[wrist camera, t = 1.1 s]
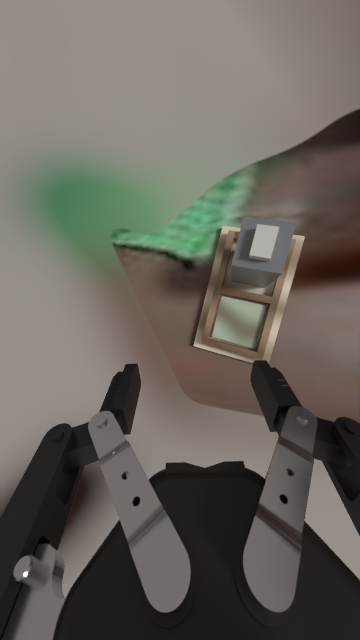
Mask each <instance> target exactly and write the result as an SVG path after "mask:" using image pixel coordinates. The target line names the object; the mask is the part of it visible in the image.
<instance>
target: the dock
mask: <svg viewBox="0 0 360 640" xmlns="http://www.w3.org/2000/svg"><path fill="white" fill-rule="evenodd" d="M240 229H241V228H235V227H227V226H223V227H222V231H221V235H220V239H219V243H218V247H217V251H216V255H215V259H214V263H213V268H212V272H211V276H210V280H209V284H208V288H207V292H206V296H205V300H204V304H203V309H202V313H201V317H200V321H199V325H198V329H197V333H196V337H195V341H194V346H195V347H198V348H202V349H205V350H209V351H212V352H216V353H219V354H223V355H226V356H230V357H233V358H237V359H240V360H244V361H247V362H250V363H253V362H254V360H266V361H267V362H268V364H269V361H270V358H271V354H272V351H273V347H274V344H275V340H276V337H277V333H278V330H279V326H280V323H281V319H282V316H283V312H284V309H285V305H286V302H287V298H288V294H289V291H290V287H291V284H292V280H293V277H294V273H295V270H296V266H297V263H298V259H299V256H300V252H301V249H302V245H303V242H304V238H305V236H297V235H293V237H292V240H291V244H290V247H289V251H288V255H287V258H286V262H285V265H284V269H283V273H282V274H281V275H280V276H279V277H278V278H276V279H275V280H274V281H273V282H271V283H270V284H269V285H267V286H266V287H265V288H263V287H258V286H253V285H248V284H242V283H237V282H232V272H231V265H232V261H233V257H234V253H235V249H236V245H237V241H238V237H239V233H240Z"/></svg>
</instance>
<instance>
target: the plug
mask: <svg viewBox="0 0 360 640" xmlns="http://www.w3.org/2000/svg"><path fill="white" fill-rule="evenodd" d="M295 226H296V223H295V222H286V221H278V220H269V219H260V218H252V217H243V221H242V225H241V229H240V233H239V237H238V241H237V245H236V249H235V253H234V257H233V261H232V265H231V272H232V282H237V283H242V284H248V285H253V286H258V287H263V288H265V287H266V286H267V285H269V284H270V283H271V282H273V281H274V280H275V279H276V278H278V277H279V276H280V275H281V274H282V273H283V269H284V265H285V262H286V258H287V255H288V251H289V247H290V244H291V240H292V237H293V233H294V229H295Z"/></svg>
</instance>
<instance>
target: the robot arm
mask: <svg viewBox="0 0 360 640" xmlns="http://www.w3.org/2000/svg"><path fill="white" fill-rule="evenodd" d="M251 384H252V387H253V390H254V392H255V395H256V397H257V400H258V402H259V405H260V407H261V410H262V412H263V415H264V417H265V419H266V422H267V424H268V427H269V429H270V432H277V433H278V435H279V438H278V441H277V444H276V447H275V450H274V453H273V456H272V460H271V463H270V465H269V468H268V472H267V474H266V477H265V479H264V478H263V477H262V476H260V475H259V474H258V473H256V472H254V471H252V470H250V469H247V468H245V466H244V462H243V461H235V462H222V463H219V464H216V465H213V466H210V467H207V468H203V467H199V466H195V465H192V464H188V463H185V462H184V463H166V469H164V470H162V471H160V472H158V473H156V474H155V475H153V476H152V477H151V478H150V479H149V480H148V478H147V476H146V474H145V472H144V470H143V468H142V466H141V464H140V462H139V461H138V459H137V457H136V455H135V453H134V451H133V449H132V447H131V445H130V444H129V442H127V440H126V438H125V436H124V435H125V434H130V433H131V428H132V424H133V419H134V415H135V410H136V406H137V401H138V397H139V392H140V387H141V379H140V374H139V369H138V365H137V364H126V365H125V368H124V371H123V372H118V373H117V374H116V375H115V376H114V377H113V379H112V381H111V385H110V387H109V389H108V392H107V394H106V397H105V399H104V402H103V404H102V407H101V409H100V412H99V413H97V414H96V415H95V416H93V417H92V418H91V420H90V421H89V422H88V423H85V424H83V425H79V426H76V427H73V428H72V427H71V426H70V425H69V424H66V423H64V424H59V425H57V426H55V427H53V428H52V429H50V430H49V431H48V432H47V433H46V435H45V436H44V438H43V440H42V442H41V444H40V445H39V447H38V449H37V451H36V453H35V455H34V457H33V458H32V460H31V462H30V464H29V466H28V468H27V470H26V471H25V473H24V475H23V477H22V479H21V481H20V483H19V485H18V486H17V488H16V490H15V492H14V494H13V496H12V497H11V500H10V501H9V503H8V505H7V507H6V509H5V511H4V512H3V514H2V516H1V518H0V640H360V580H359V579H358V578H357V577H356V576H355V574H354V573H353V572H352V571H351V570H350V569H349V568H348V567H347V566H346V565H345V564H344V563H343V562H342V561H341V559H340V558H339V557H338V556H337V555H336V554H335V553H334V552H333V551H332V550H331V549H330V548H329V547H328V545H327V544H326V543H325V542H324V541H323V540H322V539H321V538H320V537H319V536H318V535H317V534H316V533H315V532H314V531H313V529H311V527H310V526H309V525H308V524H307V523H306V522H305V521H304V519H305V513H306V506H307V500H308V494H309V488H310V481H311V475H312V469H313V463H314V458H315V459H318V460H321V461H322V462H323V464H324V466H325V468H326V470H327V472H328V474H329V476H330V478H331V480H332V482H333V484H334V486H335V488H336V490H337V492H338V494H339V496H340V498H341V500H342V502H343V504H344V506H345V508H346V510H347V512H348V514H349V516H350V517H351V520H352V522H353V523H354V526H355V527H356V530H357V531H358V533H359V535H360V424H359V423H358V422H356V421H354V420H352V419H350V418H346V417H340V418H337V419H336V421H335V422H332V421H328V420H324V419H320V418H317V417H315V416H314V414H313V413H312V412H310V411H309V410H308V409H306V408H304V407H302V406H301V404H300V402H299V401H298V399H297V398H296V396H295V394H294V393H293V391H292V389H291V388H290V386H289V384H288V383H287V381H286V380H285V378H284V376H283V375H282V373H281V372H280V371H278V370H277V369H276V368H275V367H274V368H271V367H270V365H269V364H268V362H267V361H266V360H254V362H253V367H252V373H251ZM98 460H99V461H100V466H101V468H102V471H103V474H104V477H105V480H106V482H107V485H108V488H109V491H110V494H111V496H112V499H113V502H114V505H115V508H116V510H117V513H118V516H119V521H118V522H117V524H116V525H115V527H114V528H113V529H112V531H111V532H110V533H109V535H108V536H107V538H106V539H105V540H104V542H103V543H102V545H101V546H100V547H99V549H98V550H97V552H96V553H95V554H94V556H93V557H92V559H91V560H90V562H89V563H88V564H87V566H86V567H85V568H84V570H83V571H82V573H81V574H80V576H79V577H78V578H77V580H76V581H75V583H74V584H73V586H72V587H71V589H70V591H69V593H68V595H67V597H66V599H65V598H64V595H63V592H62V580H63V574H64V566H65V565H64V559H63V556H62V555H61V554H60V553H59V552H58V551H57V550H58V547H59V544H60V541H61V538H62V535H63V532H64V528H65V525H66V522H67V519H68V516H69V513H70V510H71V507H72V503H73V500H74V497H75V493H76V491H77V488H78V485H79V481H80V478H81V475H82V472H83V469H84V466H85V465H87V464H90V463H92V462H95V461H98Z"/></svg>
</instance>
